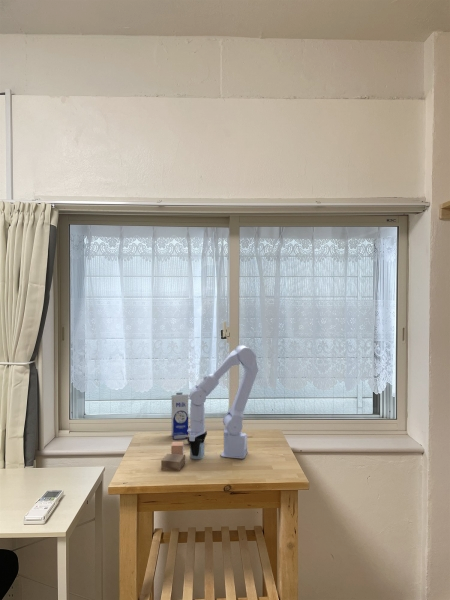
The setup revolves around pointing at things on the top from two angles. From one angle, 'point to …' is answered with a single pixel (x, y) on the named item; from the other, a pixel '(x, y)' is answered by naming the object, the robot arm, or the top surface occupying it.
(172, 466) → the walnut base
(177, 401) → the milk carton
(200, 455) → the slate block
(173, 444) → the terracotta block
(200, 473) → the top surface
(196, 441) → the robot arm
